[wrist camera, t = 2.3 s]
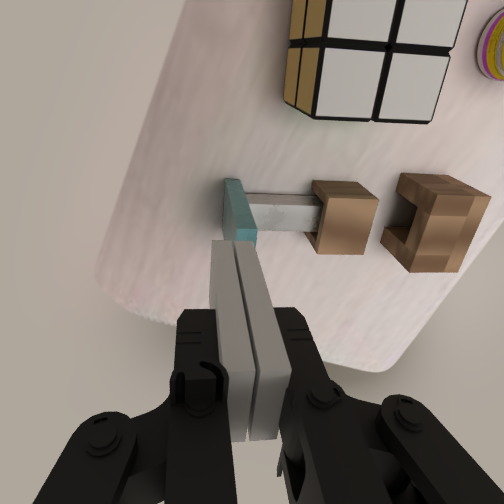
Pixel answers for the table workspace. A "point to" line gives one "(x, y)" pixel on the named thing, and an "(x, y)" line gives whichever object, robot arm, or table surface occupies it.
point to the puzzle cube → (370, 58)
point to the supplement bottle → (492, 48)
